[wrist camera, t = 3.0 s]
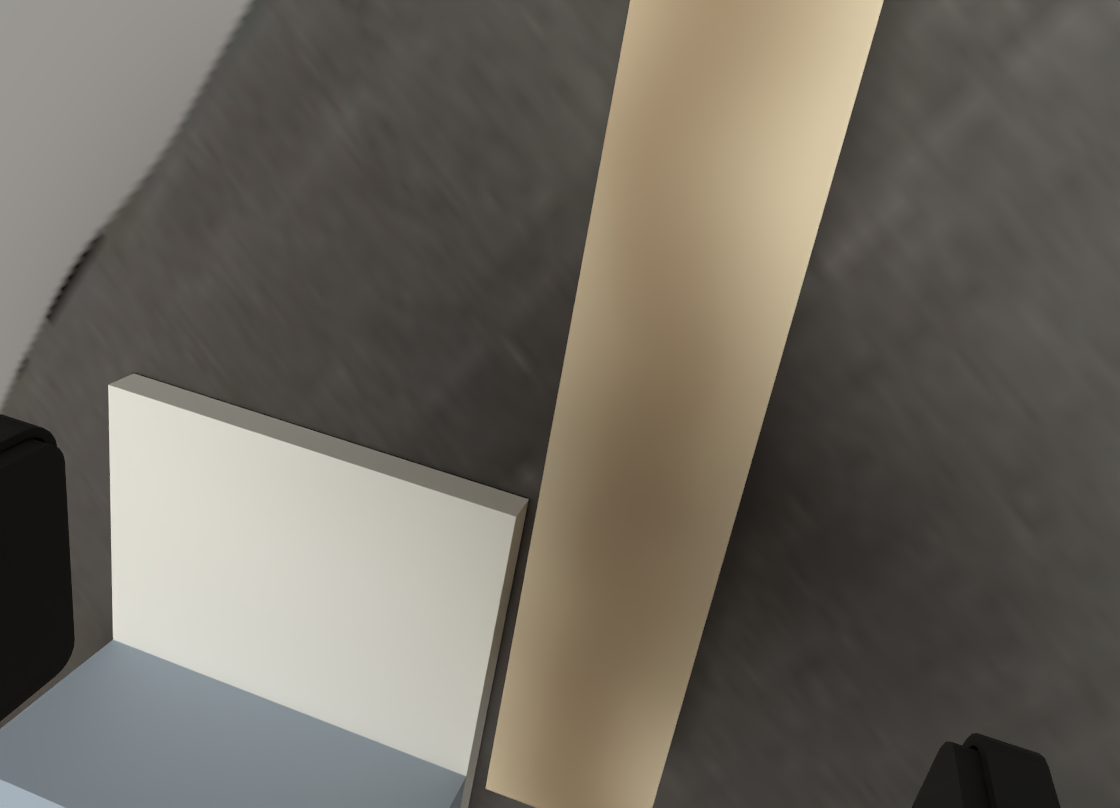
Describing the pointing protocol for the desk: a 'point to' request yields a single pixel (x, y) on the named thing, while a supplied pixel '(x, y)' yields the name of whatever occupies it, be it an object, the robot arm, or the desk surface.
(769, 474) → the desk surface
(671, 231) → the rod
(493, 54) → the desk surface
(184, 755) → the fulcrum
